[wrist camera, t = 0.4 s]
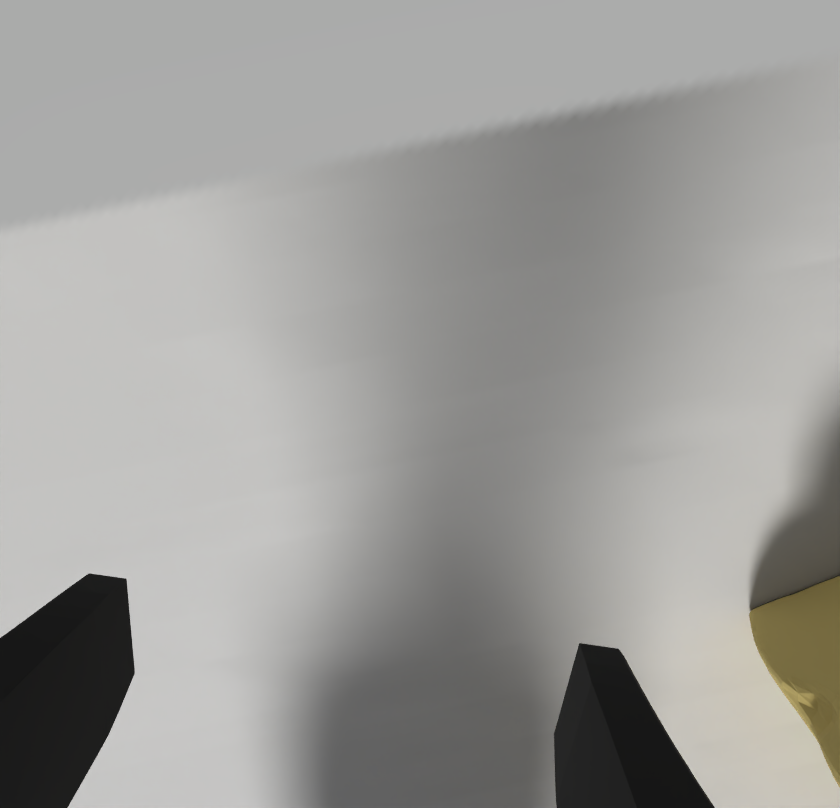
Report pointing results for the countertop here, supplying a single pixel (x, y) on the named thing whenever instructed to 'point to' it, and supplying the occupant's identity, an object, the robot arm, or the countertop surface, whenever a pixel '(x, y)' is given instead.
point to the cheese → (806, 658)
